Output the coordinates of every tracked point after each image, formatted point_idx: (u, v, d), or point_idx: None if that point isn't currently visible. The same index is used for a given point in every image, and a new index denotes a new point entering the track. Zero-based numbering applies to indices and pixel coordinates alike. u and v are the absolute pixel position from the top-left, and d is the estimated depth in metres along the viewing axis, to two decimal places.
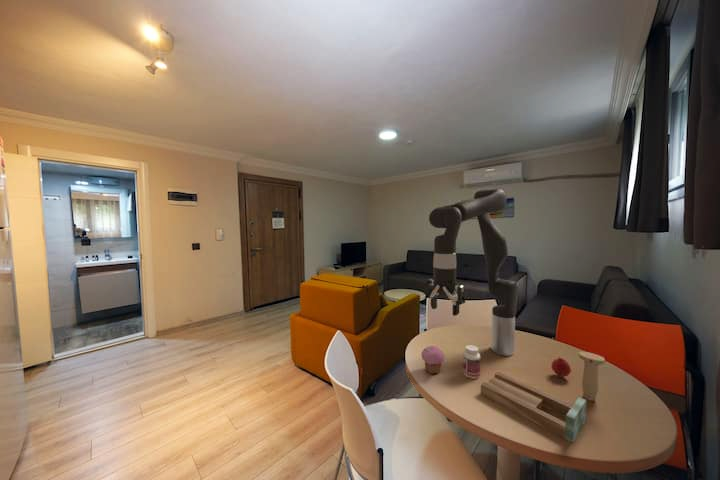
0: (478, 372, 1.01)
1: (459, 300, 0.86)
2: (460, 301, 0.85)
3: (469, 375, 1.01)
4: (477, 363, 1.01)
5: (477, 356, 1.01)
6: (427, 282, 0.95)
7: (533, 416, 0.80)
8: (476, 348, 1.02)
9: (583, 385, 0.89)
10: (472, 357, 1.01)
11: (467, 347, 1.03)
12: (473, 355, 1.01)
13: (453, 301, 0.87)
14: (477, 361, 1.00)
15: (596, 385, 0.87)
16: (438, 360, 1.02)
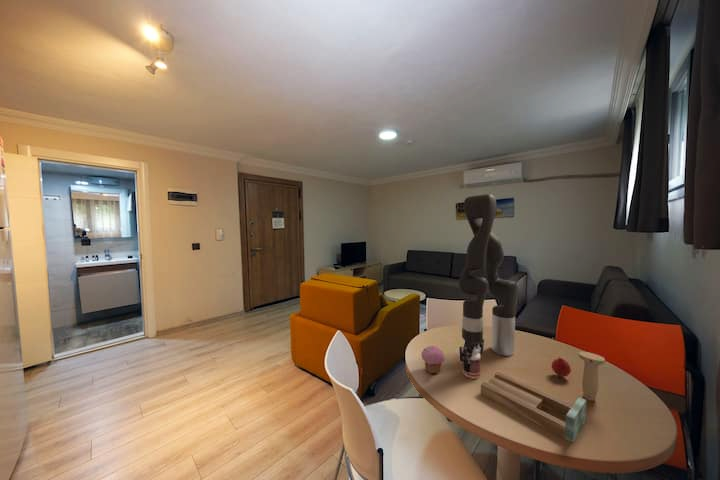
0: (478, 372, 1.01)
1: (482, 350, 1.06)
2: (482, 351, 1.06)
3: (469, 375, 1.01)
4: (477, 363, 1.01)
5: (477, 356, 1.01)
6: (466, 351, 0.98)
7: (533, 416, 0.80)
8: (476, 348, 1.02)
9: (583, 385, 0.89)
10: None
11: None
12: (473, 355, 1.01)
13: None
14: (477, 361, 1.00)
15: (596, 385, 0.87)
16: (438, 360, 1.02)
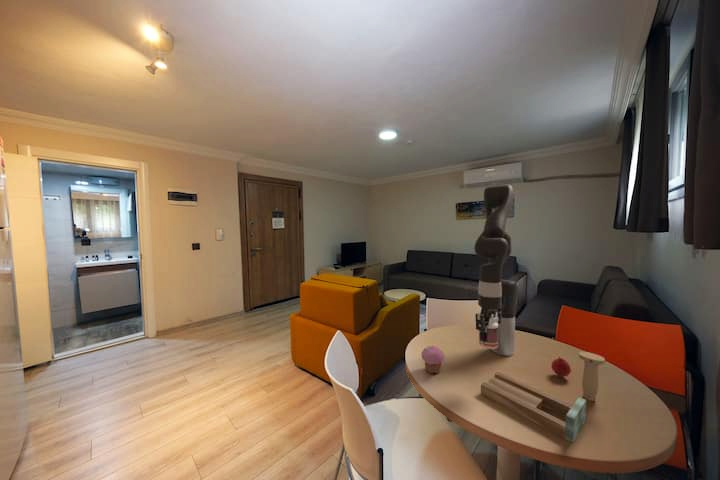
0: (495, 342, 0.93)
1: (500, 320, 0.98)
2: (500, 320, 0.98)
3: (485, 345, 0.94)
4: (495, 332, 0.93)
5: (495, 324, 0.93)
6: (482, 318, 0.90)
7: (533, 416, 0.80)
8: None
9: (583, 385, 0.89)
10: None
11: None
12: None
13: None
14: (495, 329, 0.93)
15: (596, 385, 0.87)
16: (438, 360, 1.02)
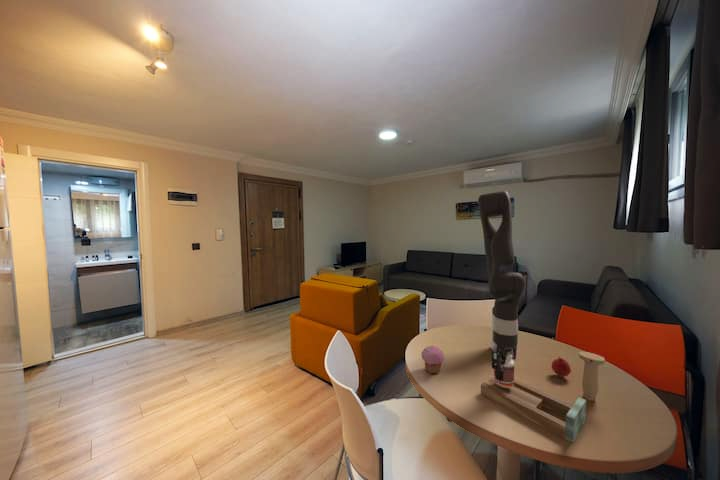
0: (512, 381, 0.89)
1: (515, 355, 0.94)
2: (515, 356, 0.94)
3: (502, 384, 0.90)
4: (511, 371, 0.89)
5: (511, 363, 0.89)
6: (499, 357, 0.86)
7: (533, 416, 0.80)
8: None
9: (583, 385, 0.89)
10: None
11: None
12: None
13: None
14: (511, 368, 0.89)
15: (596, 385, 0.87)
16: (438, 360, 1.02)
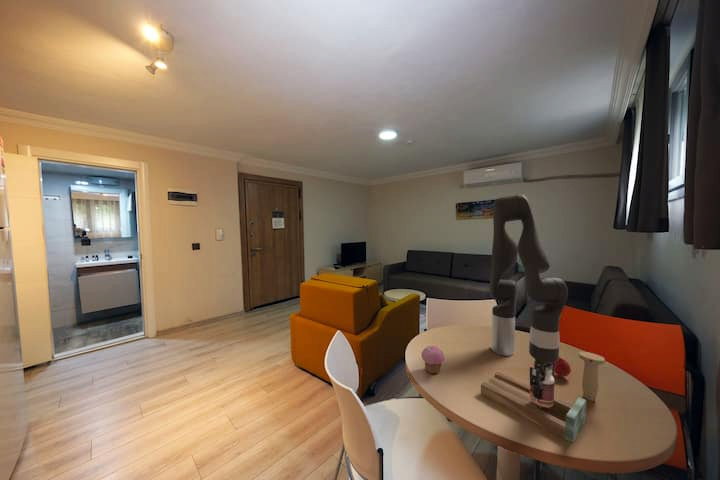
0: (552, 399, 0.80)
1: (553, 370, 0.85)
2: None
3: (540, 403, 0.80)
4: (552, 388, 0.79)
5: (551, 379, 0.80)
6: (539, 374, 0.77)
7: (533, 416, 0.80)
8: None
9: (583, 385, 0.89)
10: None
11: None
12: (546, 378, 0.80)
13: None
14: (551, 385, 0.79)
15: (596, 385, 0.87)
16: (438, 360, 1.02)
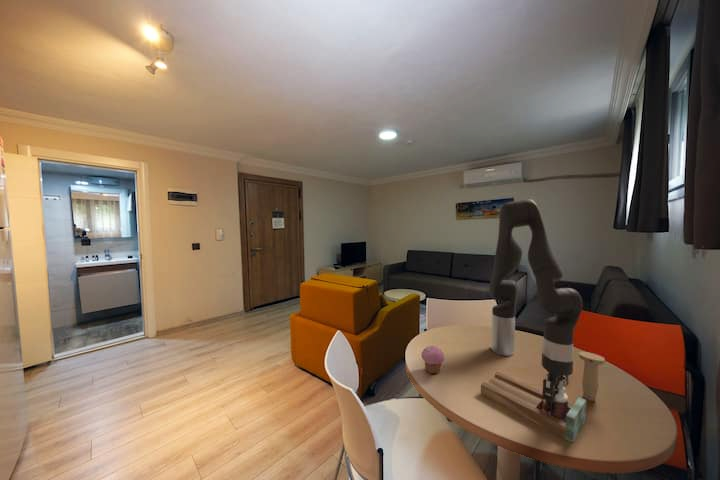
0: None
1: (567, 380, 0.83)
2: (567, 381, 0.83)
3: None
4: (565, 406, 0.77)
5: (565, 397, 0.78)
6: (553, 386, 0.75)
7: (533, 416, 0.80)
8: (562, 386, 0.79)
9: (583, 385, 0.89)
10: (558, 398, 0.77)
11: None
12: (559, 395, 0.78)
13: (565, 386, 0.81)
14: (565, 403, 0.77)
15: (596, 385, 0.87)
16: (438, 360, 1.02)
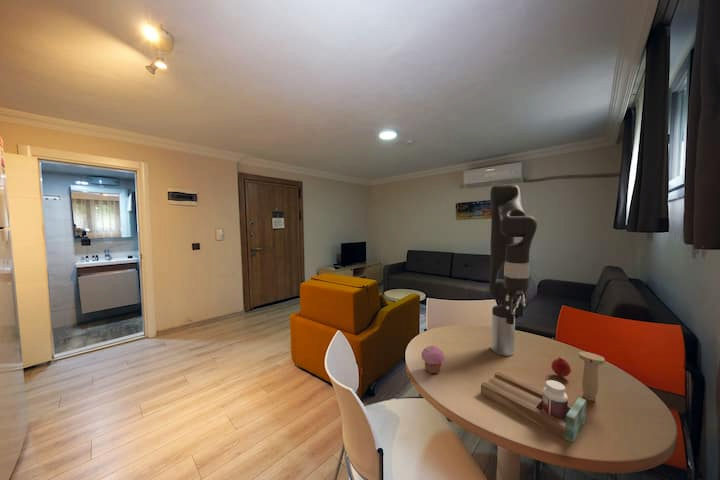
0: None
1: (526, 300, 0.94)
2: (526, 300, 0.95)
3: None
4: (565, 406, 0.77)
5: (564, 396, 0.78)
6: (511, 299, 0.86)
7: (533, 416, 0.80)
8: (561, 385, 0.79)
9: (583, 385, 0.89)
10: (558, 398, 0.77)
11: (549, 384, 0.80)
12: (559, 395, 0.78)
13: (524, 304, 0.93)
14: (565, 403, 0.77)
15: (596, 385, 0.87)
16: (438, 360, 1.02)
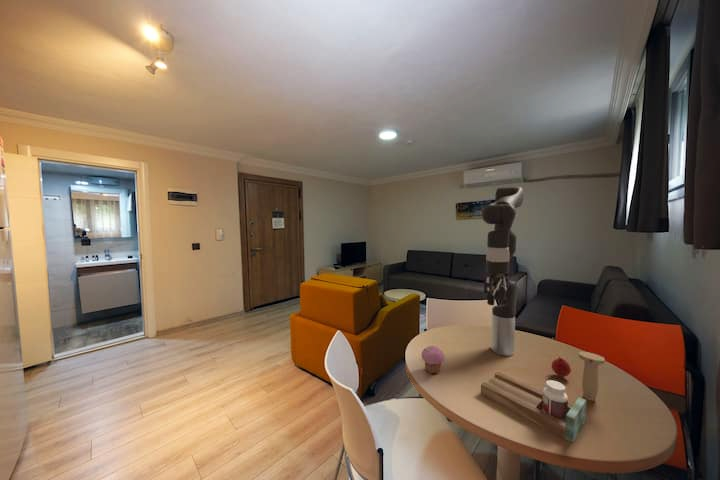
0: None
1: (508, 284, 1.01)
2: (508, 285, 1.01)
3: None
4: (565, 406, 0.77)
5: (564, 397, 0.78)
6: (491, 280, 0.93)
7: (533, 416, 0.80)
8: (562, 385, 0.79)
9: (583, 385, 0.89)
10: (558, 398, 0.77)
11: (549, 384, 0.80)
12: (559, 395, 0.78)
13: (505, 287, 0.99)
14: (565, 403, 0.77)
15: (596, 385, 0.87)
16: (438, 360, 1.02)
